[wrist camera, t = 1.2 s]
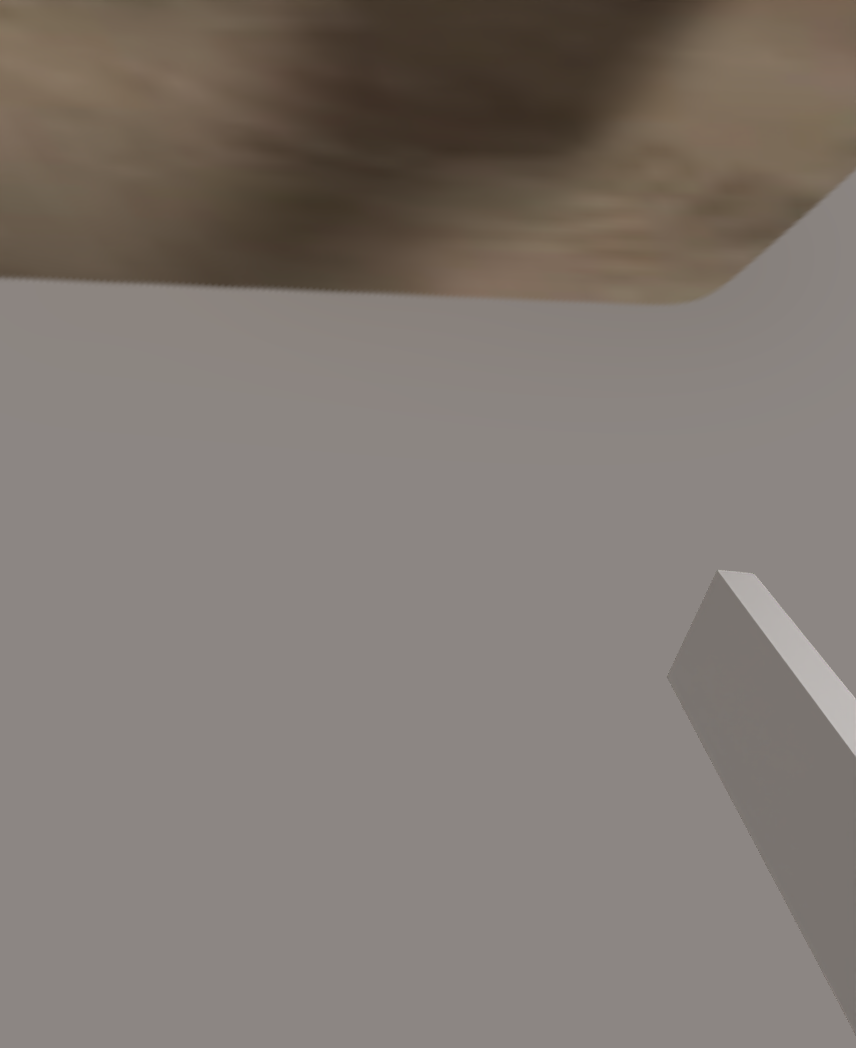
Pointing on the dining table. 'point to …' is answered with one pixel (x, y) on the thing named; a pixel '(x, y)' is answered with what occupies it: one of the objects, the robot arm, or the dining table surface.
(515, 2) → the dining table surface
